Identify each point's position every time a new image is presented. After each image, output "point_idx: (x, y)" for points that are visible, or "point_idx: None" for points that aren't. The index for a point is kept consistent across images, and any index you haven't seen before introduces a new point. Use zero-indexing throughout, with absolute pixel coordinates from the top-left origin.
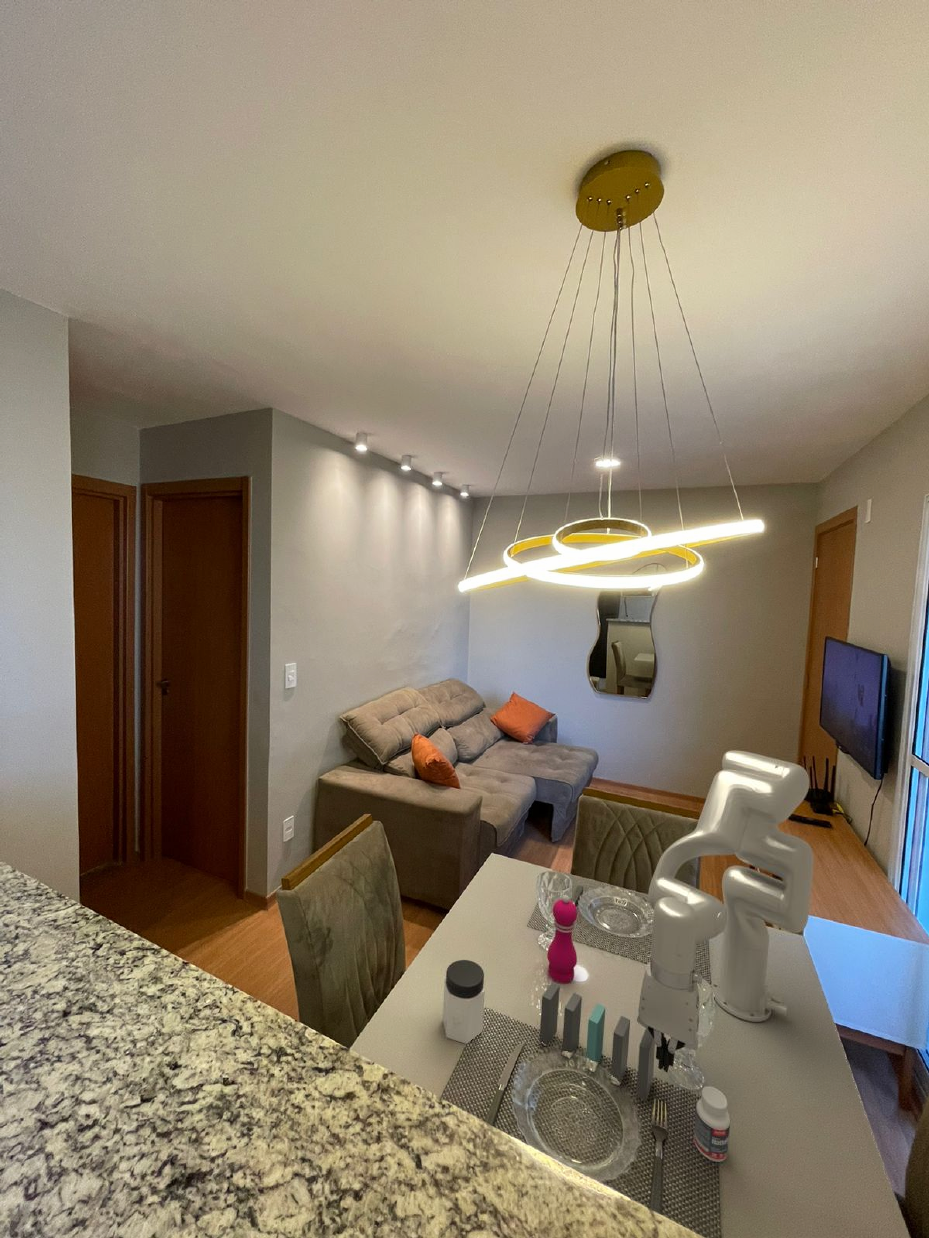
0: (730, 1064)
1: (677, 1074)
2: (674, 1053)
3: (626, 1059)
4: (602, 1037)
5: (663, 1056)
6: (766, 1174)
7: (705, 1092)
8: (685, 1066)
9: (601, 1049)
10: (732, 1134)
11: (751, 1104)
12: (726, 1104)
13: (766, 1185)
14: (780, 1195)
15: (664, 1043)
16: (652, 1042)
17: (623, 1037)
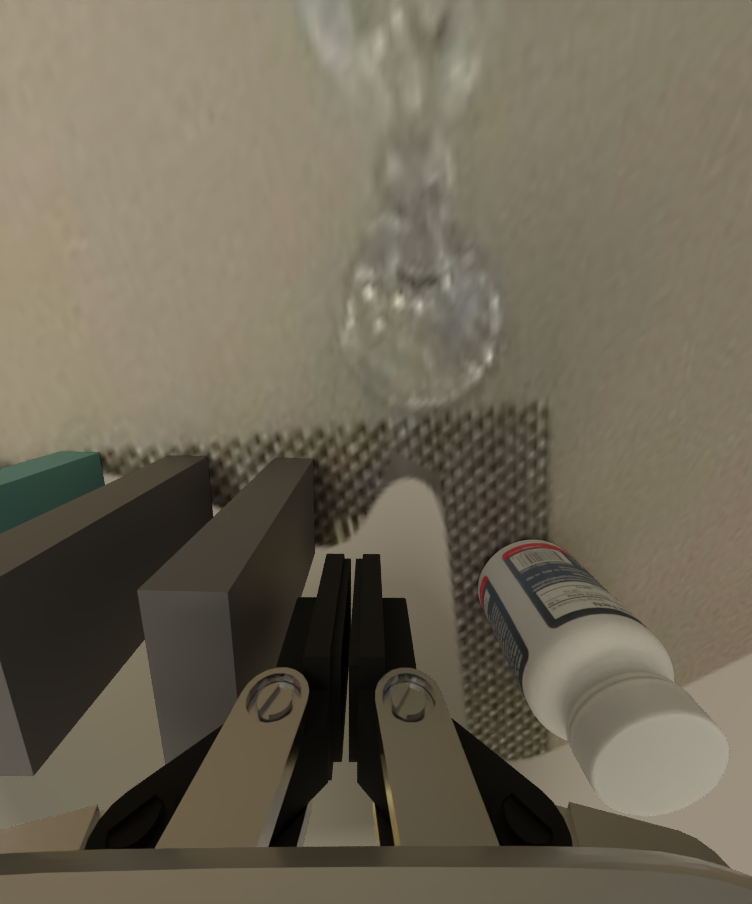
0: (621, 122)
1: (393, 358)
2: (410, 638)
3: (182, 489)
4: (16, 500)
5: (345, 703)
6: (682, 571)
7: (610, 766)
8: (418, 288)
9: (72, 480)
10: (596, 500)
11: (683, 323)
12: (722, 774)
13: (676, 602)
14: (709, 608)
15: (331, 716)
16: (242, 681)
17: (45, 746)
